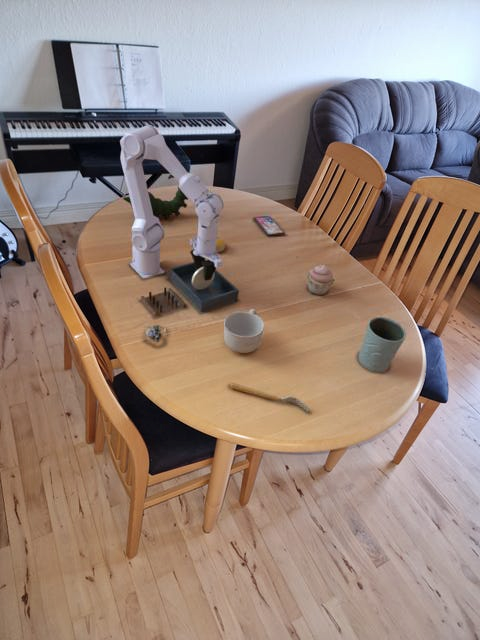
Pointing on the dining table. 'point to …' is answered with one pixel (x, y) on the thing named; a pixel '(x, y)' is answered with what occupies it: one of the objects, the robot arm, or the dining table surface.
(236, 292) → the dark blue tray
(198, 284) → the plate
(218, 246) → the bread roll
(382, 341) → the green cylindrical pot
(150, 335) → the oyster shell
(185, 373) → the dining table surface
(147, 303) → the plate rack
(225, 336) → the teacup
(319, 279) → the cupcake
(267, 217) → the smartphone
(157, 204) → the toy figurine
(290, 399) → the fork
